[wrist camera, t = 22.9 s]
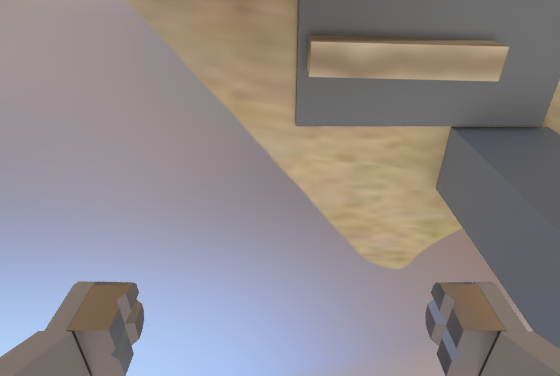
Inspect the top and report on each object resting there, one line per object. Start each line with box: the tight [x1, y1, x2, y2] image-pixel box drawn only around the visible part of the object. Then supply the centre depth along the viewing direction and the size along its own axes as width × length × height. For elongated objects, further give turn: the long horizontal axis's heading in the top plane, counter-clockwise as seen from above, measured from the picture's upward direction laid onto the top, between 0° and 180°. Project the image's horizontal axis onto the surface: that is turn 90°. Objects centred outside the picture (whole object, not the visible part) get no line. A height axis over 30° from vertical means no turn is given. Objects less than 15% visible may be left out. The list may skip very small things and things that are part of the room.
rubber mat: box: [296, 0, 560, 126], centre depth 42 cm, size 17×30×1 cm, turn 90°
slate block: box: [436, 127, 560, 349], centre depth 39 cm, size 9×12×26 cm
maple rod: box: [307, 36, 509, 81], centre depth 41 cm, size 4×20×4 cm, turn 89°
